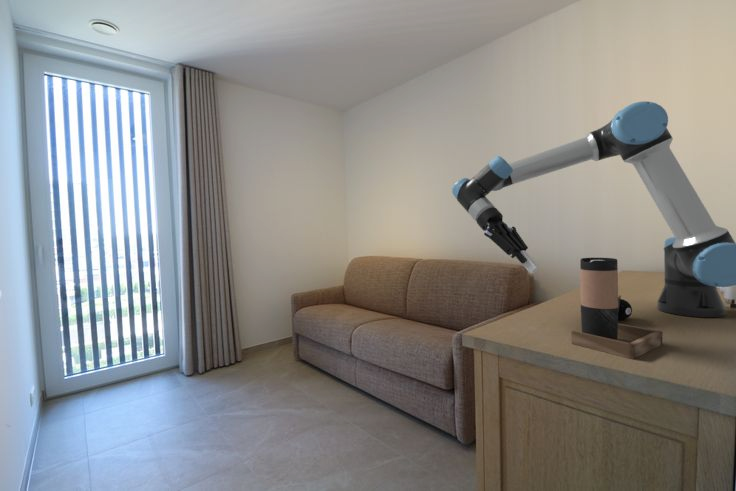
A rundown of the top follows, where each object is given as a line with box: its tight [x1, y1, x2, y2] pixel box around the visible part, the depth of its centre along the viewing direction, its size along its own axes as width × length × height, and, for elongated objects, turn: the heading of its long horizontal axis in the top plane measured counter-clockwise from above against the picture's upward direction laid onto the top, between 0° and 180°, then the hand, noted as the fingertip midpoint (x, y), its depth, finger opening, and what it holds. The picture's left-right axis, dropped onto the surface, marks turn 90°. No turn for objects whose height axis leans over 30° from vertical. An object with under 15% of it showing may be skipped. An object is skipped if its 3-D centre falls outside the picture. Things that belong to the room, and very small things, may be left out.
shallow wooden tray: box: [571, 322, 663, 360], centre depth 81 cm, size 15×12×3 cm
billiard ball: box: [618, 298, 633, 321], centre depth 101 cm, size 6×6×6 cm
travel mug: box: [579, 257, 619, 340], centre depth 84 cm, size 8×8×20 cm
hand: (535, 270), depth 98 cm, fingers closed
